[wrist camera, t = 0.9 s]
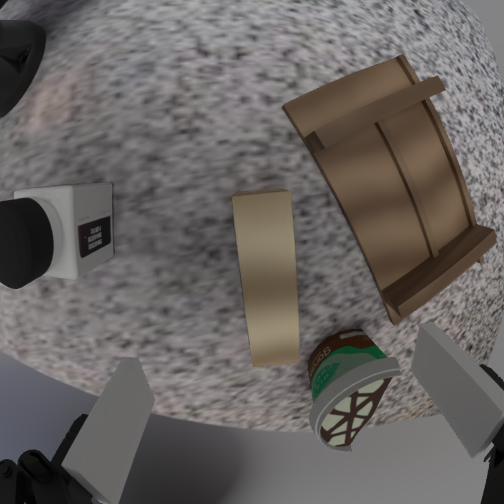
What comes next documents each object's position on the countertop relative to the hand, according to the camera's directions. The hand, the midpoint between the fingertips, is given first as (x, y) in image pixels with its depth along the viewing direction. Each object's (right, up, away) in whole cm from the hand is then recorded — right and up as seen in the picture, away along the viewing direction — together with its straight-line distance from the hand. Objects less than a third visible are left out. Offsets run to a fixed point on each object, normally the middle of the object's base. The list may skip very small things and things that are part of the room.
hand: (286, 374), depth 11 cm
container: (-19, +9, +15) cm, 26 cm away
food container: (+7, -7, +19) cm, 22 cm away
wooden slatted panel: (+14, +12, +14) cm, 23 cm away
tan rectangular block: (0, +4, +16) cm, 17 cm away
